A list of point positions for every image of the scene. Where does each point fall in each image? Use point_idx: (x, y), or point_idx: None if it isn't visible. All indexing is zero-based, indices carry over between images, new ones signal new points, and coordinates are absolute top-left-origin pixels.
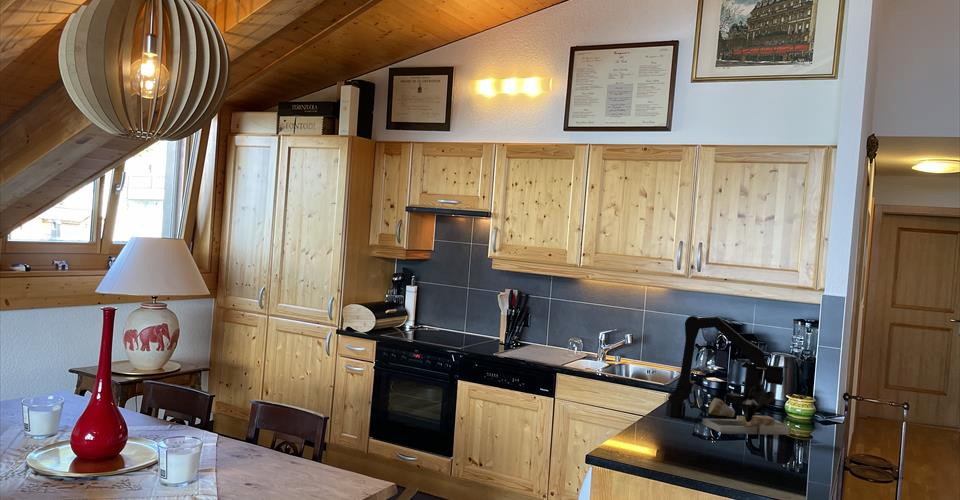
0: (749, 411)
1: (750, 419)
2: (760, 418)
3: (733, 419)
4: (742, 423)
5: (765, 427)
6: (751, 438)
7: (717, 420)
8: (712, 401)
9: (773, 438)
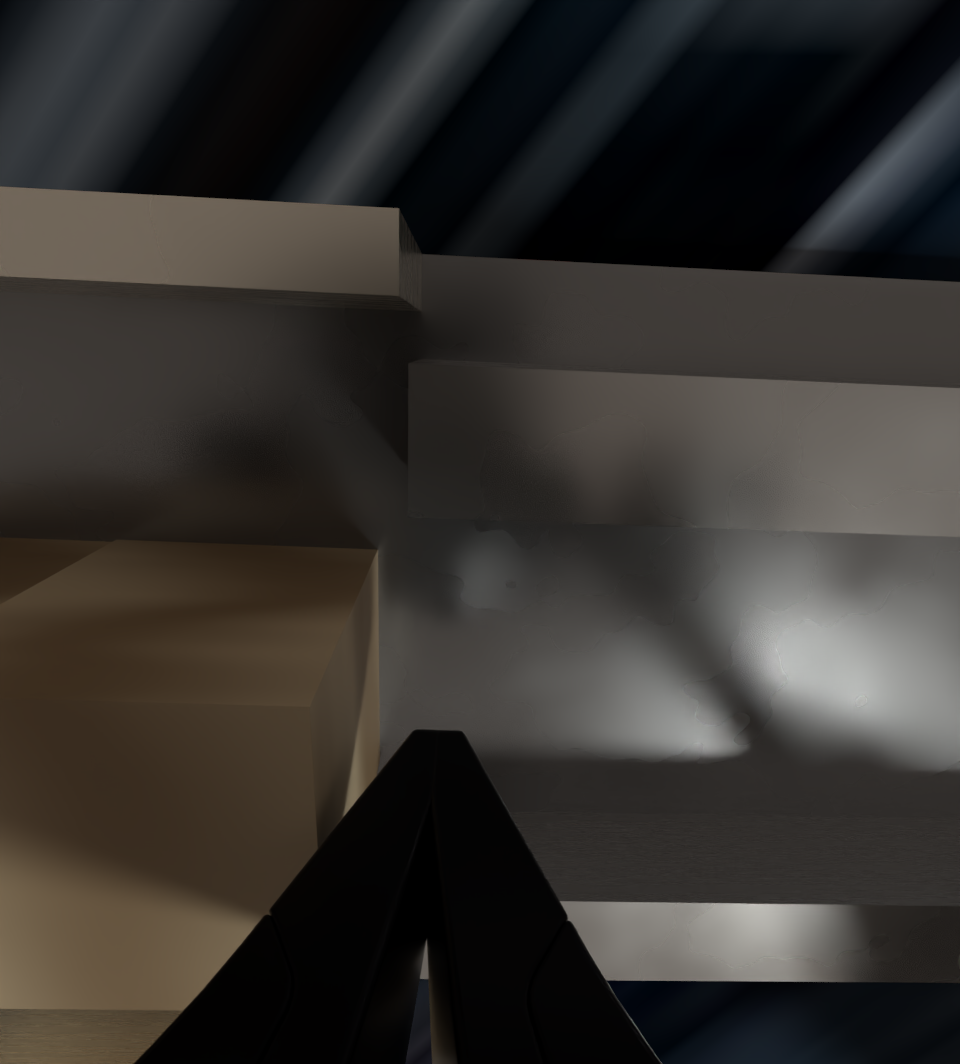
0: (543, 1047)
1: (398, 768)
2: (38, 722)
3: None
4: None
5: (230, 206)
6: (893, 17)
7: None
8: None
9: (190, 11)
